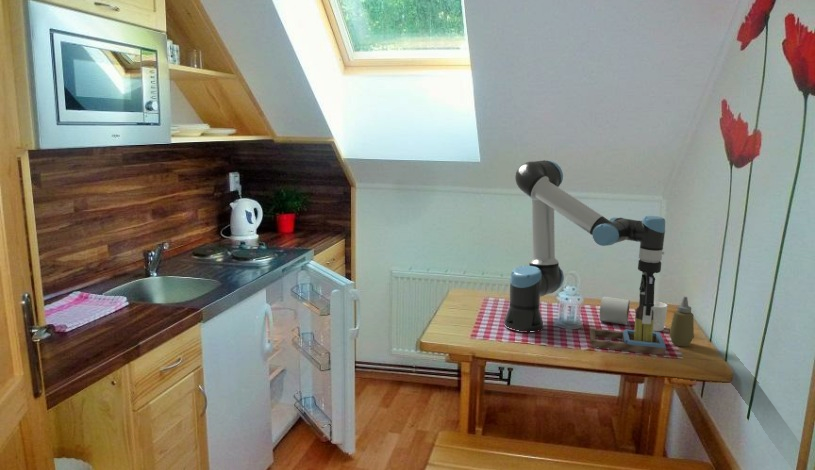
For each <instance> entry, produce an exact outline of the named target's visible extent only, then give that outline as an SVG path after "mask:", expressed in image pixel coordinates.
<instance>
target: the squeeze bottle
mask: <svg viewBox="0 0 815 470" xmlns="http://www.w3.org/2000/svg"><path fill="white" fill-rule="evenodd" d="M670 324H671V325H670V330H669V337H670V340H671V343H672V344H673V345H674V346H678V347H682V348H683V347H684V348H685V347H689V346H690V345H691V342H693V339H694V334H695V333H694V326H695V325H694V324H695V323H694V313H692V306H690V305H689V301H688V297H687V296H683V298H682V300H681V303H680V304H678V305H677V308H676V310H675V311H674V312H673V316H672V320H671V323H670Z"/></svg>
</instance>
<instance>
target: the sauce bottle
mask: <svg viewBox="0 0 815 470" xmlns="http://www.w3.org/2000/svg"><path fill="white" fill-rule="evenodd" d="M639 297H640V303H639V302H638V307H637V308H636V309H635V317H634V329H633V330H634V340H633V341H642V342H652V337H653V332H654V331H653V320H654V318H653V315H654V312H653V310H652V317H651V324H642V320H643V310H644V306H643V304H645V292H640V291H639ZM648 303H651V302H648ZM652 343H653V342H652Z"/></svg>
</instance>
